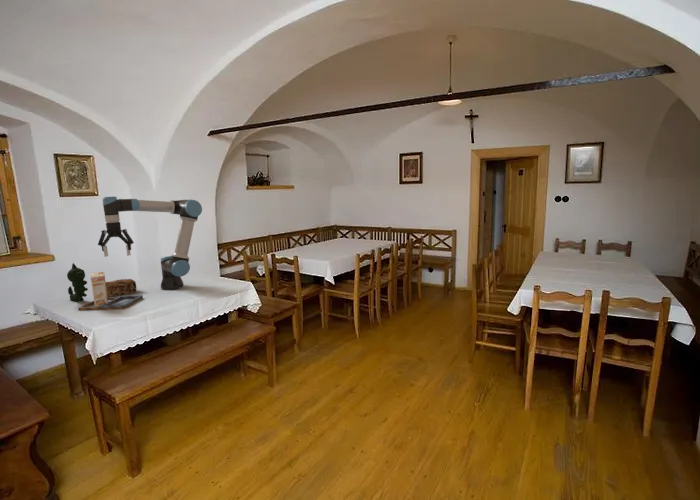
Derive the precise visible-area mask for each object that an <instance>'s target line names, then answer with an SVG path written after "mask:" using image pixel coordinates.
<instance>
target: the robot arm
mask: <svg viewBox="0 0 700 500" xmlns="http://www.w3.org/2000/svg"><path fill="white" fill-rule="evenodd" d="M102 206H103V212H104V219H105V220H104V221H105V226H106V227H105V228H106V229H103V230H101V235H100V238H99V240H98V243H97V246H100V247H101V250H102V252H103V253H104V254H103V255H104V257H105V258H106V257H109V252H108V251H109V250H108V246H107V244H108V242H109V241H110V239H111V238H120V240H122V241H123V242H124V243H125V249H126V256H128V257H130V256H131V255H132V254H131V250H132V244H134V243H135V242H134V240H133V239H132V237H131V236H130V234H129V233H128V231H127V229H126V228H124V229H122V227H121V222H120V221H121V218H120V212H150V213H151V212H152V213H153V212H154V213H169V214H171V215H179V218H180V220H181V221H180V225H179V230H178V234H177V239H176V244H175V248H174V253H173V254H171V255H169V256H162V257H161V258H160V266H161V275H162V279H161V282H160V289H161V290H164V291H171V290H178V289H181V288H183V287H185V285H184V281H183V279H182V277H184V276H186V275H187V274H188V273H189V272H190V270H191V265H190V263H189V261H190V257H189V256H188V255H189V250H190V246H191V241H192V235H193V230H194V226H195V223H196V222H197V221H198V220H199V219H198V218H199V216H200V215H201V214H202V211H203V207H202V205H201V203H200V202H199V201H198V200H196V199H180V200H179V199H178V200H177V199H176V200H172V199H171V200H170V201H165V200H164V201H162V200H145V199H137V198H117V196H104V197H103V198H102ZM106 235H107V236H106Z"/></svg>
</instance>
